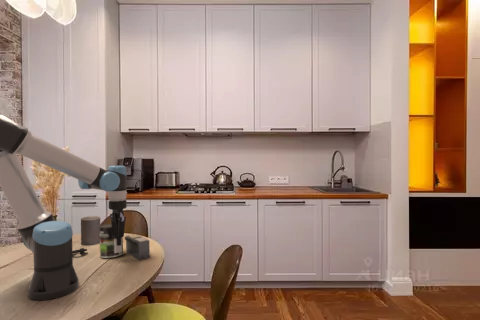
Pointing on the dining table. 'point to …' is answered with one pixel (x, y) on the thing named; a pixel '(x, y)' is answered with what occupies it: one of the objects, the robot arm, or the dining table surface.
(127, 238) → the box
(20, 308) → the dining table surface
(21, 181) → the robot arm
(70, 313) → the dining table surface
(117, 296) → the dining table surface
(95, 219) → the pillar candle
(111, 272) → the dining table surface
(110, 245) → the coffee can
